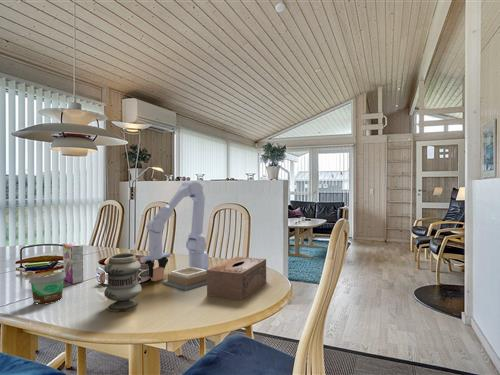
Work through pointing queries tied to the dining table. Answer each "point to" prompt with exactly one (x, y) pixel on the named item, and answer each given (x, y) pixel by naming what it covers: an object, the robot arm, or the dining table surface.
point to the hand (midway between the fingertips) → (156, 275)
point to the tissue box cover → (236, 277)
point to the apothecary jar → (122, 281)
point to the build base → (187, 278)
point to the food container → (47, 287)
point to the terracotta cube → (158, 273)
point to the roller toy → (102, 277)
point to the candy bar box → (73, 262)
